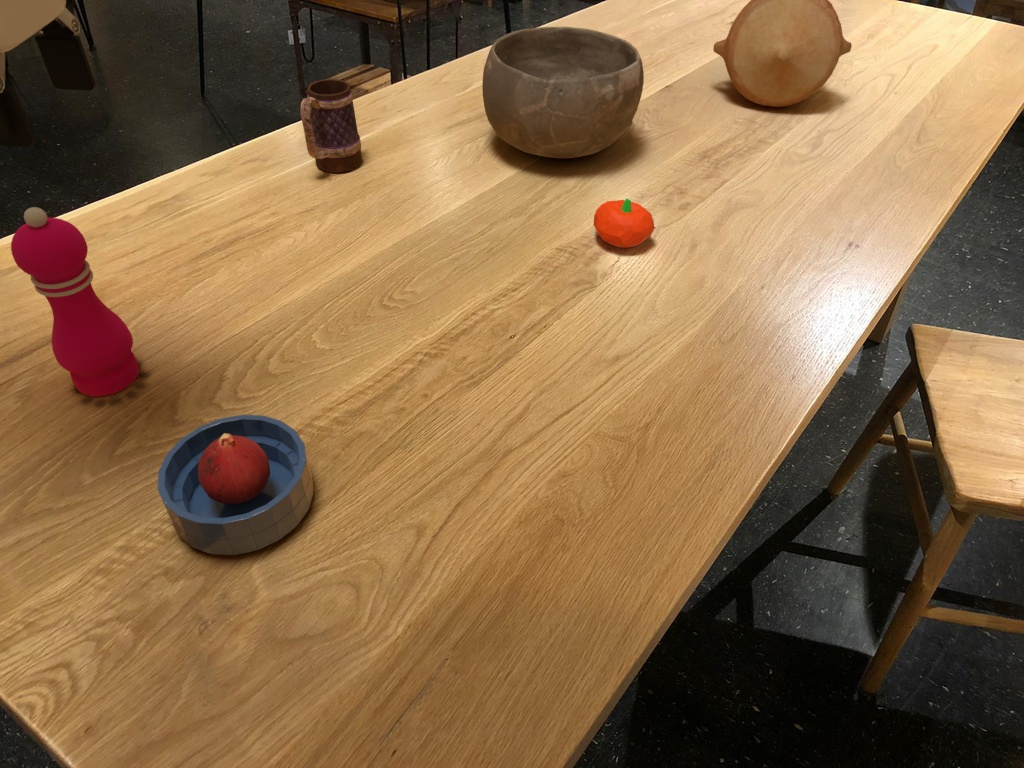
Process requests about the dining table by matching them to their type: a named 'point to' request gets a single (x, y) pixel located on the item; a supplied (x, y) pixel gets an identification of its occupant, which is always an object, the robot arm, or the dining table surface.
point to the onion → (233, 469)
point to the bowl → (561, 90)
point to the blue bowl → (244, 522)
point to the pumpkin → (623, 223)
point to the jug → (782, 49)
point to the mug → (331, 126)
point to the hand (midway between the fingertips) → (46, 114)
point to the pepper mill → (75, 305)
